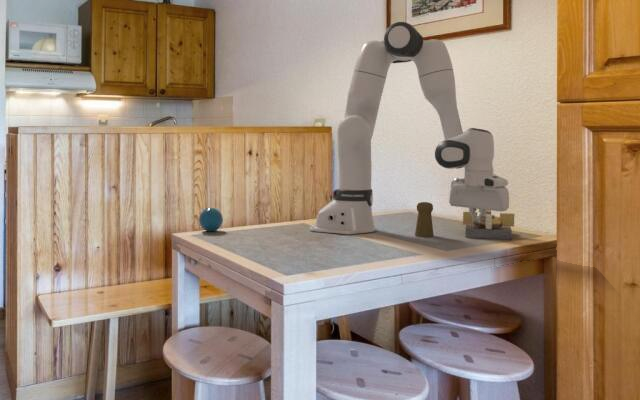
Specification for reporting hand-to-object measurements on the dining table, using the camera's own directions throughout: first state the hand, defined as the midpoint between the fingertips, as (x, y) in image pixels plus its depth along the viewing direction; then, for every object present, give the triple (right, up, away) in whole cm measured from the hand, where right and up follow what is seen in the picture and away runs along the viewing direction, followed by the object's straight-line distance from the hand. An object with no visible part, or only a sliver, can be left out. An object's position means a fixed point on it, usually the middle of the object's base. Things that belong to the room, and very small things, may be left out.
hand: (477, 222), depth 185 cm
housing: (+5, -4, +4) cm, 8 cm away
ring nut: (+5, -1, +4) cm, 6 cm away
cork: (-17, -5, +3) cm, 17 cm away
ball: (-87, -4, +10) cm, 88 cm away
